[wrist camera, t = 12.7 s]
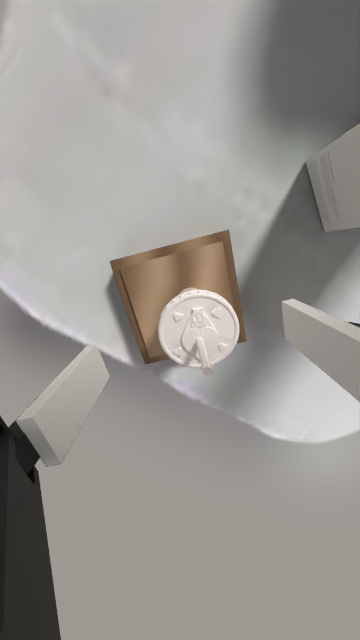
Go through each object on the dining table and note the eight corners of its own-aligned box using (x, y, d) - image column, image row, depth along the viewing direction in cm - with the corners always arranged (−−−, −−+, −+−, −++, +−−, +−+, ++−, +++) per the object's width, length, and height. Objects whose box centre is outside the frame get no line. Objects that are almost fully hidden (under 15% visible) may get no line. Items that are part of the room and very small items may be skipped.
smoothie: (168, 329, 26) (158, 412, 13) (161, 279, 24) (141, 314, 11) (218, 324, 26) (262, 402, 12) (215, 272, 24) (265, 301, 10)
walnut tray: (222, 232, 26) (229, 229, 22) (238, 331, 30) (247, 342, 27) (118, 260, 27) (108, 261, 23) (148, 351, 31) (144, 365, 27)
